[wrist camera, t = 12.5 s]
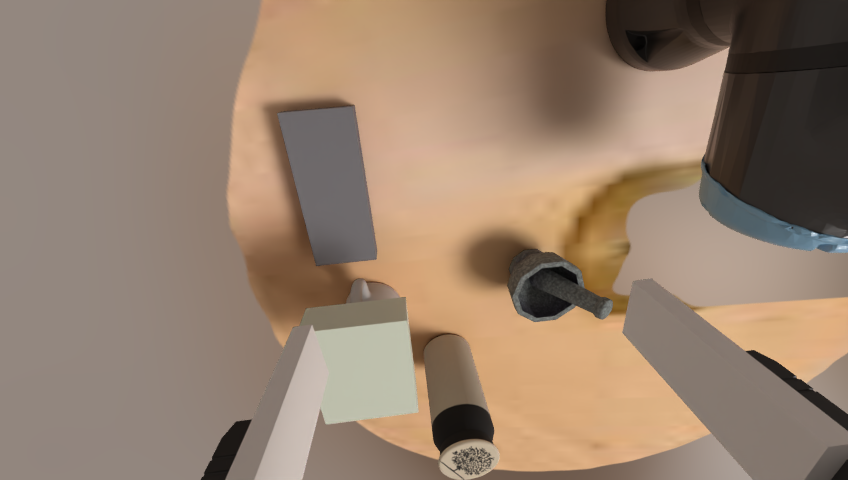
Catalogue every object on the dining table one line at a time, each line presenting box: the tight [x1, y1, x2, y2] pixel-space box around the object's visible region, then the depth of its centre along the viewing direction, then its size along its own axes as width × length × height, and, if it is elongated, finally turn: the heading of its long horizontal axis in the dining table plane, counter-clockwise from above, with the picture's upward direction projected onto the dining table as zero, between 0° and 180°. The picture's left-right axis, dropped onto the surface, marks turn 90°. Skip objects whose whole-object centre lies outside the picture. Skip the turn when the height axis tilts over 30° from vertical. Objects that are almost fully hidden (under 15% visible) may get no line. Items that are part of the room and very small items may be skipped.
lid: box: [300, 297, 418, 424], centre depth 37 cm, size 11×14×4 cm
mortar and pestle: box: [507, 249, 613, 322], centre depth 43 cm, size 11×9×12 cm
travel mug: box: [424, 334, 499, 480], centre depth 47 cm, size 8×8×18 cm
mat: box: [277, 105, 377, 266], centre depth 40 cm, size 8×19×2 cm, turn 4°
